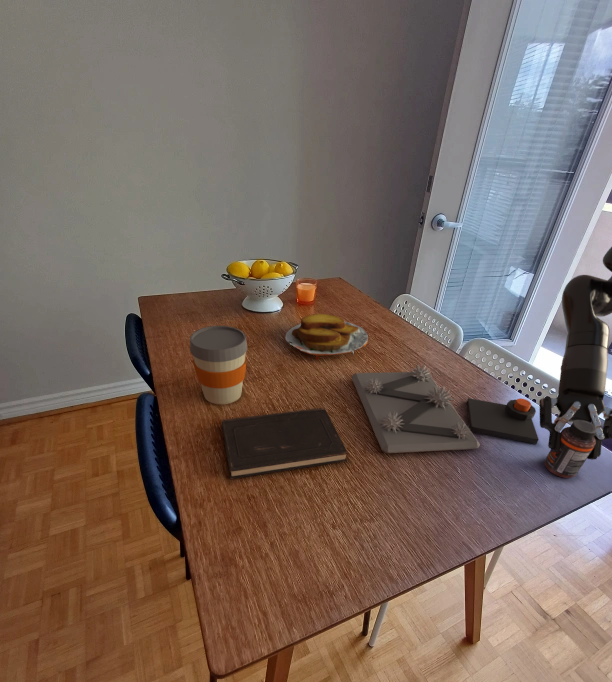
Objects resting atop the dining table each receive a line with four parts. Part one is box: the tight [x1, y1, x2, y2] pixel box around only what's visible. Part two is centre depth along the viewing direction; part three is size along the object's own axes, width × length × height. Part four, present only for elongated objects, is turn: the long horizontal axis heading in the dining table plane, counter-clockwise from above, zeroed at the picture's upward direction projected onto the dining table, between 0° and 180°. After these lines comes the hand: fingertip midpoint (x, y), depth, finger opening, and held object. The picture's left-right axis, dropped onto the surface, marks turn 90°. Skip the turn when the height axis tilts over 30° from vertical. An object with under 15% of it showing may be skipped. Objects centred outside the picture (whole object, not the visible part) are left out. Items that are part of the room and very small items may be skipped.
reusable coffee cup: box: [189, 325, 248, 405], centre depth 92 cm, size 13×13×15 cm
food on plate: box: [284, 313, 370, 361], centre depth 120 cm, size 25×25×7 cm
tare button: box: [514, 398, 532, 412], centre depth 93 cm, size 3×3×2 cm
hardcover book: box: [220, 407, 349, 480], centre depth 82 cm, size 16×23×2 cm
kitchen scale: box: [466, 397, 539, 445], centre depth 92 cm, size 14×13×3 cm
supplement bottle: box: [544, 420, 597, 479], centre depth 78 cm, size 6×6×11 cm
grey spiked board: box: [350, 363, 481, 454], centre depth 92 cm, size 30×22×7 cm
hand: (573, 455), depth 76 cm, fingers closed on supplement bottle, 6 cm apart
